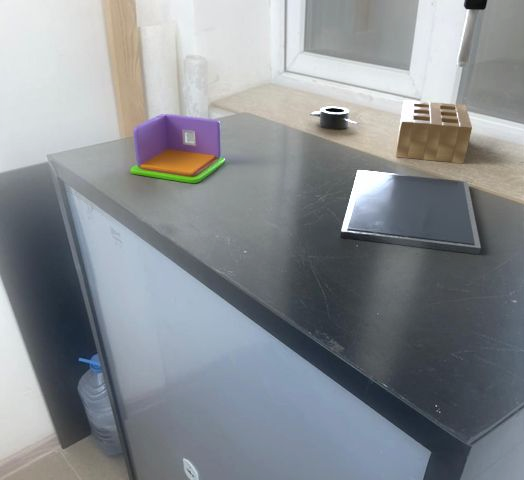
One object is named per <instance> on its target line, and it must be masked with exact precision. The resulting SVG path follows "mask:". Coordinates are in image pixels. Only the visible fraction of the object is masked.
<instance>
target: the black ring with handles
mask: <svg viewBox="0 0 524 480" xmlns="http://www.w3.org/2000/svg"><path fill="white" fill-rule="evenodd" d="M349 115H350V110H349V109H347V108H346V107H341V106H324V107H322V108H320V110H319V111H318V110H317V111H313V112H311V113H310V115H309V116H314V117H318V118H319V122H318V125H319V126H320V127H321V128H323V129H328V130H344V129H347V128H348V125H349V123H351V124H354V125H359V123H358V122H356V121H352V120H350V119H349Z"/></svg>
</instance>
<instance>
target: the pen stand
mask: <svg viewBox="0 0 524 480" xmlns="http://www.w3.org/2000/svg"><path fill="white" fill-rule="evenodd" d="M472 130H473V126H472V122H471V118H470V116H469V112H468V109H467V105H466V104H456V103H444V102H443V103H442V102H432V101H431V102H430V101H418V100H405V99H404V100H403V102H402V109H401V114H400V121H399V127H398V132H397V142H396V150H395V158H404V159H412V160H413V159H414V160H424V161H433V162H435V161H436V162H443V163H444V162H445V163H456V164H464V163H465V158H466V154H467V151H468V146H469V142H470V138H471V134H472Z"/></svg>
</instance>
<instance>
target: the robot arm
mask: <svg viewBox="0 0 524 480" xmlns="http://www.w3.org/2000/svg"><path fill="white" fill-rule="evenodd" d="M487 4H488V0H464V2H463V7H464V8H465V10H468V9H472V10H479V11H484V10H486V8H487Z"/></svg>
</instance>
